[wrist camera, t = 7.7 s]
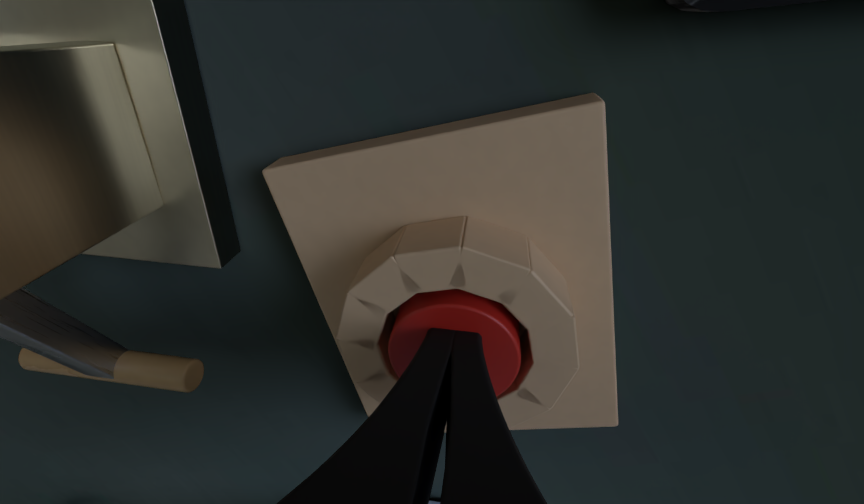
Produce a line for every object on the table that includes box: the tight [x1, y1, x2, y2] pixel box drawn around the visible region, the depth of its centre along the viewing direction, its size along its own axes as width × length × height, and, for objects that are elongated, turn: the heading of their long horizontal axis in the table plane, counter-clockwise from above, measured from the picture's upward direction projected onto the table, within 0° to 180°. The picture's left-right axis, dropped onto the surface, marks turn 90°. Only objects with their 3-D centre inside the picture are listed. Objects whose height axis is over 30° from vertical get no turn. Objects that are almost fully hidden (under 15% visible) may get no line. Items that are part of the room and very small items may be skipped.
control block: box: [262, 93, 618, 432], centre depth 13 cm, size 11×9×3 cm
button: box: [388, 289, 521, 396], centre depth 12 cm, size 4×4×2 cm
